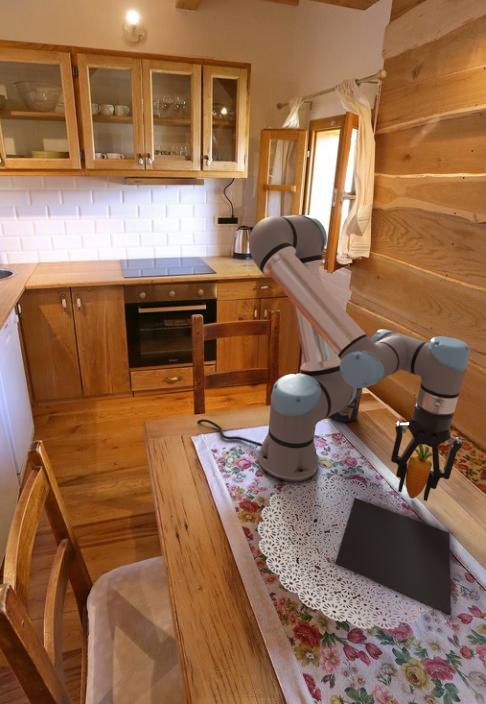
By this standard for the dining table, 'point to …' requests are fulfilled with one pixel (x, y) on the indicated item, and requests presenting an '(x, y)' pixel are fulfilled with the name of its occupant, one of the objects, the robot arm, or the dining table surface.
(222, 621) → the dining table surface
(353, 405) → the canister
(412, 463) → the carrot
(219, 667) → the dining table surface
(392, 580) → the mat
